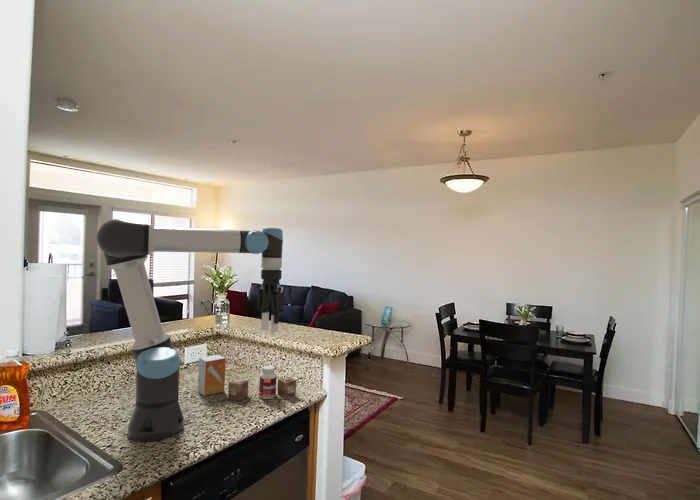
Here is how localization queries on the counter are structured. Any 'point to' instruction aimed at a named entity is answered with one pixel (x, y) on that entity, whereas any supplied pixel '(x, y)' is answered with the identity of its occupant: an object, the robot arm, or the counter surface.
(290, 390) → the marked block right
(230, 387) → the marked block left
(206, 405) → the counter surface
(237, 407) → the counter surface
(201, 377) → the small box
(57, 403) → the counter surface
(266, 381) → the pill bottle
